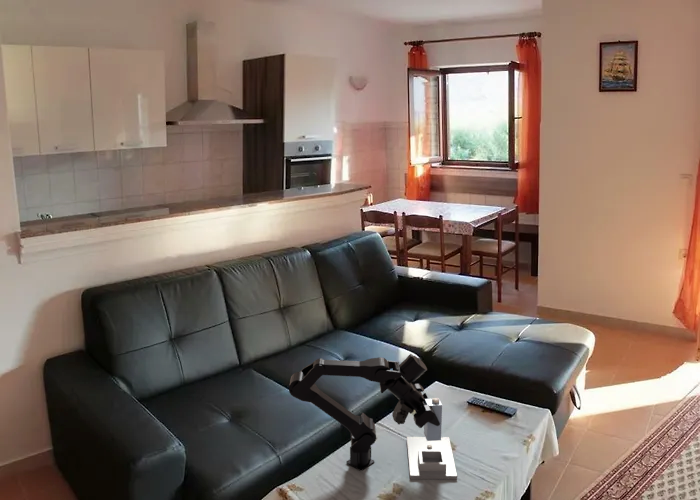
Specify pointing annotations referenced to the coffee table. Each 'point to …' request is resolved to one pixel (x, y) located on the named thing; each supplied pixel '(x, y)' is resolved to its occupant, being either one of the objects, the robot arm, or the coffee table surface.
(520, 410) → the coffee table surface
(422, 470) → the plate
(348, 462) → the robot arm
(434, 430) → the block
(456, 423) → the coffee table surface
